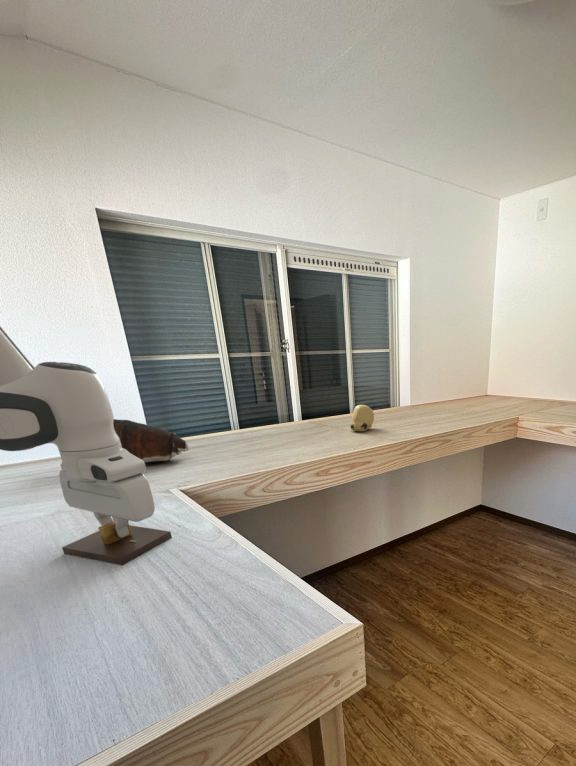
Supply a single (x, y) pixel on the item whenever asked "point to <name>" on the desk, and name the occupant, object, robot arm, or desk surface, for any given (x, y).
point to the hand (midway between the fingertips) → (117, 534)
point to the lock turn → (110, 533)
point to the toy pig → (362, 418)
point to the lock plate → (118, 545)
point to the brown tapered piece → (148, 441)
